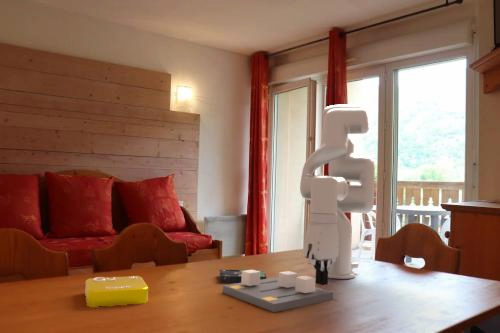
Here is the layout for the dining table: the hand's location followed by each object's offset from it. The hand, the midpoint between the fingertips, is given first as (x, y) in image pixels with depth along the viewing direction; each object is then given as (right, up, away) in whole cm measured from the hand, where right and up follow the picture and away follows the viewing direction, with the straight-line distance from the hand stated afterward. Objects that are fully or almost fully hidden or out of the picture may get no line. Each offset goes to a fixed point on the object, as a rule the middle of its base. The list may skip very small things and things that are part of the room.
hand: (321, 283), depth 126 cm
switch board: (-13, -3, -1) cm, 13 cm away
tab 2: (-9, -1, +1) cm, 10 cm away
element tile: (-56, -2, -8) cm, 57 cm away
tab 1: (-20, 0, +2) cm, 20 cm away
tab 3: (-5, -1, -4) cm, 7 cm away
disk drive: (-23, -4, +18) cm, 29 cm away
